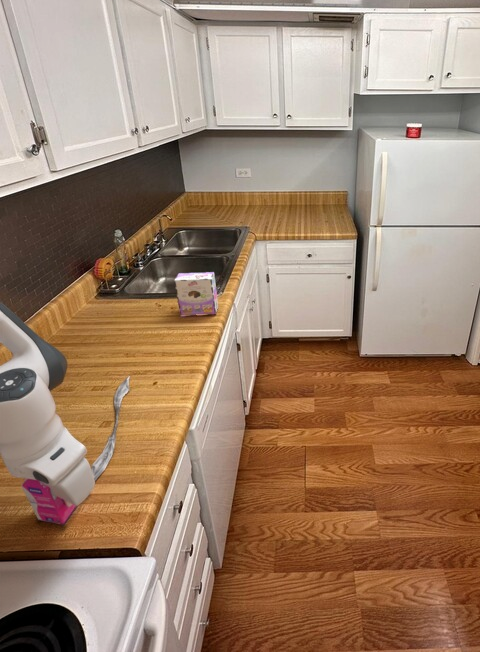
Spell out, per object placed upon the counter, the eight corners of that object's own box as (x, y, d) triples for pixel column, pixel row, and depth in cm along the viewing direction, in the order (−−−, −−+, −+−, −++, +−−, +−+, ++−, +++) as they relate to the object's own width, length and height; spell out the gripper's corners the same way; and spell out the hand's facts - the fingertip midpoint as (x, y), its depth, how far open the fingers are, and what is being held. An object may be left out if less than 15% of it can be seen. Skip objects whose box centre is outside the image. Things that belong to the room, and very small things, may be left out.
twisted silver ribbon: (85, 489, 71) (111, 480, 73) (85, 487, 71) (111, 479, 73) (114, 379, 99) (132, 375, 101) (114, 377, 99) (132, 373, 101)
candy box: (219, 307, 135) (214, 271, 129) (216, 315, 129) (211, 278, 123) (184, 308, 133) (178, 272, 128) (179, 317, 128) (173, 280, 122)
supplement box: (37, 522, 66) (19, 484, 62) (62, 490, 71) (47, 453, 67) (63, 527, 65) (46, 489, 61) (86, 494, 70) (73, 457, 66)
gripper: (-19, 444, 62) (5, 492, 67) (57, 484, 56) (78, 533, 61) (18, 416, 67) (38, 462, 72) (92, 449, 61) (109, 497, 66)
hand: (57, 494), depth 67 cm, fingers closed on supplement box, 6 cm apart
